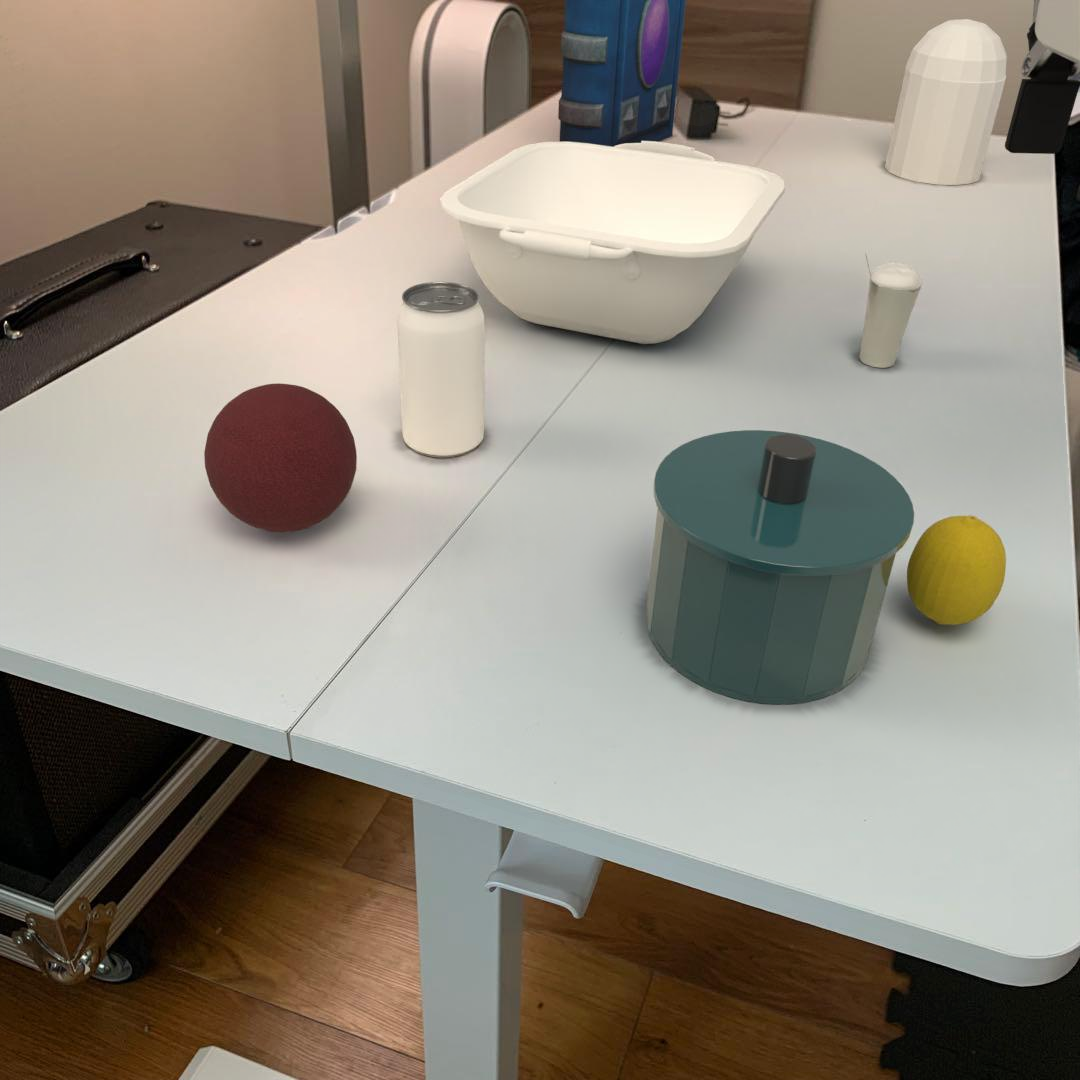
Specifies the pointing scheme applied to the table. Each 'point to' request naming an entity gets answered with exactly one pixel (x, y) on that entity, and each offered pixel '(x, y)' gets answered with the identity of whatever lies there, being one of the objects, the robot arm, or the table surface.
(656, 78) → the book
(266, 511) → the decorative ball
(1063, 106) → the robot arm
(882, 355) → the milkshake
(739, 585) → the enamel pot
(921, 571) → the lemon
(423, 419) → the can
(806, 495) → the pot lid
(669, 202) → the white plastic basin
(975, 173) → the container
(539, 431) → the table surface
